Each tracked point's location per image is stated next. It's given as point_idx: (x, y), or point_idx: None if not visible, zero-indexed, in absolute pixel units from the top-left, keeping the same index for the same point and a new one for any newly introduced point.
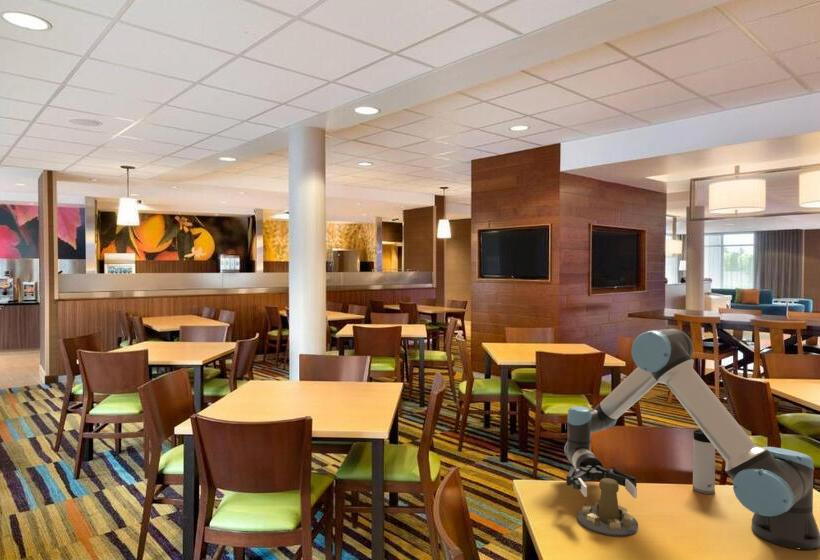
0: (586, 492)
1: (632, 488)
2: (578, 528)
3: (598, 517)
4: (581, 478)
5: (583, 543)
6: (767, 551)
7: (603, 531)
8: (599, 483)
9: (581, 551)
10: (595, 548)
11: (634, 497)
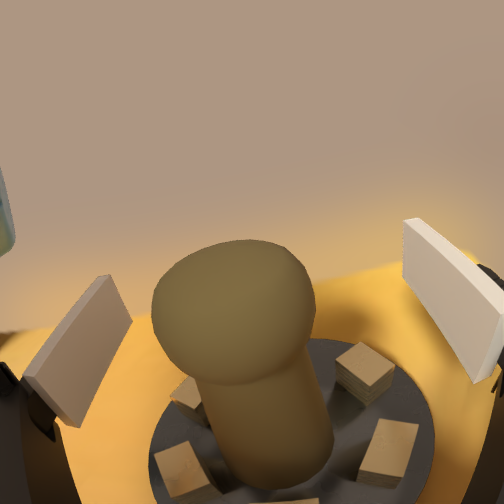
0: (406, 253)
1: (104, 296)
2: (418, 362)
3: (341, 355)
4: (501, 434)
5: (393, 294)
6: (17, 334)
7: (329, 341)
8: (311, 291)
9: (393, 268)
10: (361, 285)
11: (129, 319)
